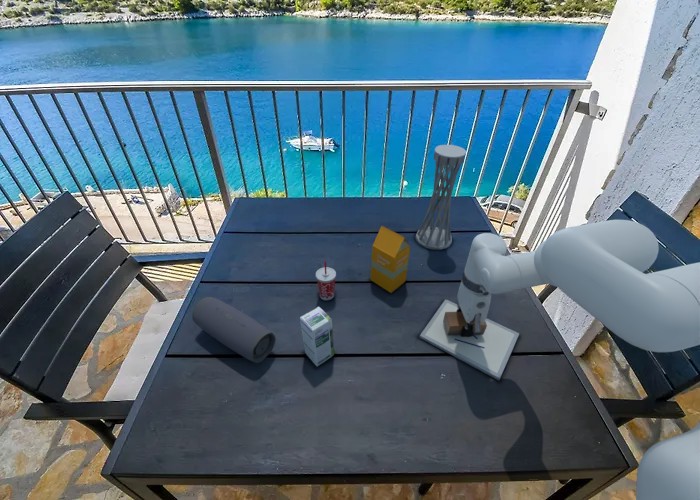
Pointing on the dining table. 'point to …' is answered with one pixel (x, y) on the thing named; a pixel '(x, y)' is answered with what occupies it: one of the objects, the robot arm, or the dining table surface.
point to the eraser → (458, 324)
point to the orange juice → (389, 259)
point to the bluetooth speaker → (234, 329)
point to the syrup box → (317, 335)
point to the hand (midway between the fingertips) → (463, 326)
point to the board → (473, 343)
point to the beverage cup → (326, 282)
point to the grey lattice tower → (434, 235)
